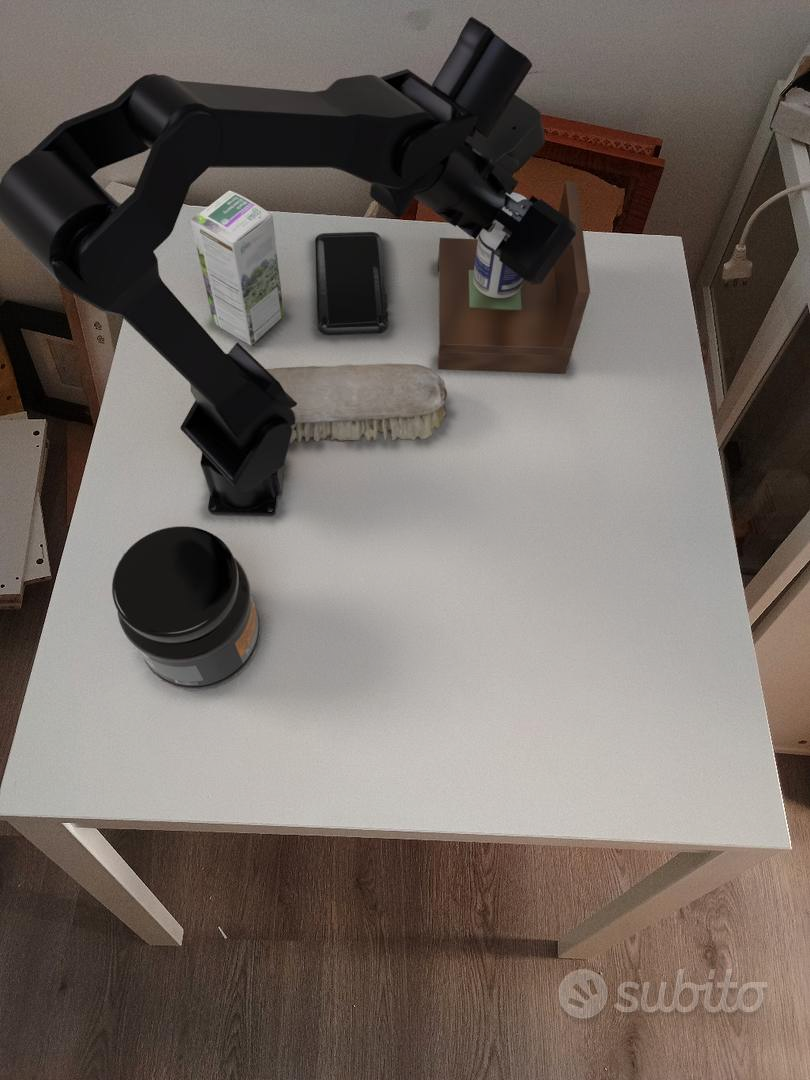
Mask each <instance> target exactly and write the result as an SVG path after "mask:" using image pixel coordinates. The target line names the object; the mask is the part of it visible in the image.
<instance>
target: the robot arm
mask: <svg viewBox="0 0 810 1080" xmlns="http://www.w3.org/2000/svg"><path fill="white" fill-rule="evenodd" d="M532 68H533V63H532V62H531V60H530V59H529V58H528V57H527V55H525V54H523V53H522V52H520V51H519V50H517V48H515V47H513V46H511V45H510V44H508V42H507V41H505V40H504V39H502V38H501V37H500V36H499V35H497V34H496V33H495V32H494V31H493V30H492V28H491V27H489V26H488V25H486V24H485V23H483V22H481V20H479V19H477V18H475V17H473V16H471V17H469V18H468V19H467V21H466V23H465V25H464V26H463V28H462V29H461V32H460V34H459V36H458V38H457V41H456V43H455V44H454V46H453V48H452V50H451V51H450V52H449V55H448V57H447V59H446V60H445V62H444V63H443V65H442V66H441V69H440V70H439V72H438V73H437V76H436V77H435V78H434V80H433V82H432V83H429V82H427V81H426V80H424V79H423V78H422V77H420V76H419V75H418V74H416V73H414V72H413V71H411V70H410V69H408V68H406V69H402V70H399V71H396V72H393V73H389V74H386V75H383V76H377V75H375V74H363V75H355V76H349V77H342V78H338V79H336V80H335V81H333V82H331V84H330V85H329V86H328V87H327V88H326V89H324V90H317V91H306V90H305V91H304V90H294V89H293V90H292V89H282V88H271V87H269V88H268V87H257V86H247V85H245V86H244V85H236V84H235V85H234V84H222V83H209V82H199V81H198V82H197V81H188V80H187V81H186V80H178V79H175V78H173V77H171V76H169V75H165V74H157V73H151V74H144V75H142V76H141V77H139V78H138V79H136V80H135V81H134V82H133V83H132V84H131V85H129V86H128V87H127V88H126V90H125V91H123V92H122V93H121V94H120V95H119V96H117V98H116V99H114V101H112V102H109V103H107V104H105V105H102V106H99V107H97V108H95V109H92V110H90V111H87V112H84V113H82V114H79V115H77V116H74V117H72V118H69V119H67V120H64V121H62V122H61V123H60V124H58V125H57V126H56V127H55V128H54V129H53V130H52V131H51V132H49V133H48V135H47V136H45V137H44V138H43V140H42V141H41V142H39V143H38V144H37V145H36V146H35V147H34V148H33V149H32V150H31V151H30V152H29V153H28V154H25V155H23V157H21V158H20V159H18V160H17V161H15V162H14V163H12V164H11V166H10V167H9V168H8V170H7V171H6V172H5V173H4V175H3V176H2V177H1V181H0V221H1V223H3V225H4V226H5V228H6V229H7V230H8V231H9V232H10V233H11V234H12V235H13V236H14V237H15V238H16V239H17V240H18V241H19V243H21V245H22V246H23V247H24V248H25V249H26V250H27V251H28V252H29V253H30V254H31V255H32V256H33V258H35V259H36V260H37V261H38V262H39V264H40V265H41V266H42V267H43V268H44V269H45V270H46V271H47V272H48V273H49V274H50V275H51V276H52V277H53V278H54V280H56V281H57V283H59V285H61V287H62V288H64V290H66V291H68V292H69V293H70V294H72V295H74V296H76V297H78V298H79V299H81V300H83V301H84V302H86V303H87V304H89V305H91V306H92V307H94V308H96V309H97V310H99V311H101V312H103V313H108V314H112V315H116V316H118V317H120V318H122V319H123V320H124V321H125V322H127V324H129V325H130V327H132V329H134V330H135V332H137V333H138V334H139V335H140V336H141V337H142V338H143V339H144V340H145V341H146V342H147V343H148V344H149V345H150V346H151V347H152V348H153V349H154V350H155V351H156V352H157V353H158V354H159V355H161V357H163V358H164V359H165V361H166V362H167V363H169V365H170V366H172V367H173V369H175V370H176V371H177V372H178V373H179V374H180V375H181V376H182V377H183V379H185V381H187V382H188V383H189V384H190V393H191V395H192V396H193V398H194V402H193V403H192V406H191V407H190V409H189V411H188V412H187V415H186V416H185V418H184V420H183V422H182V423H181V425H180V429H179V430H181V431H182V433H183V434H185V436H186V437H187V438H188V439H189V440H190V441H191V442H192V444H194V445H195V446H196V447H197V449H199V451H200V452H201V456H200V457H201V458H200V467H201V470H202V473H203V475H204V479H205V481H206V485H207V487H208V488H207V489H208V491H209V494H210V495H209V499H208V505H207V510H208V512H209V514H211V515H223V516H224V515H225V516H226V515H227V516H255V517H257V516H259V517H272V516H275V514H276V513H277V506H278V505H277V504H278V498H279V497H281V496H282V495H283V487H284V486H283V485H284V475H285V474H284V468H283V467H284V466H285V462H286V459H287V455H288V450H289V447H290V444H291V443H290V439H291V435H292V427H291V426H292V425H294V424H295V421H296V416H295V414H294V411H293V410H292V409H291V408H293V407H295V406H296V405H297V403H296V402H295V401H294V400H293V399H292V398H291V397H290V396H289V395H288V394H287V393H286V392H285V391H284V390H283V388H282V386H281V385H280V383H279V382H278V381H277V380H276V379H275V378H274V377H273V376H272V375H271V374H270V373H269V372H268V371H267V370H266V369H267V368H265V366H263V365H262V364H261V363H260V362H259V361H258V360H257V359H256V358H255V357H254V356H253V355H251V353H249V351H248V350H247V349H245V348H244V347H243V346H242V345H241V344H240V343H239V342H236V343H235V345H233V347H232V348H231V349H230V350H229V351H228V352H227V353H226V352H225V351H223V349H222V348H221V347H220V346H219V344H218V343H217V342H216V341H215V340H214V339H213V338H212V336H211V335H210V334H209V333H208V332H207V331H206V330H205V328H204V327H203V326H202V325H201V324H200V323H199V322H198V320H197V319H196V318H195V317H194V316H193V314H191V312H190V311H189V310H188V309H187V308H186V306H184V304H183V303H182V302H181V301H180V300H179V299H178V297H177V296H176V294H174V293H173V292H172V291H171V290H170V288H169V287H168V286H167V285H166V283H164V281H163V280H162V278H161V276H160V270H159V261H158V260H159V259H158V257H157V256H156V254H155V250H157V249H158V248H159V247H160V246H161V245H162V244H163V243H164V242H165V241H166V240H167V239H168V238H169V237H170V236H171V235H172V233H173V231H174V228H175V226H176V224H177V221H178V218H179V215H180V214H181V210H182V208H183V205H184V203H185V201H186V197H187V195H188V193H189V190H190V188H191V186H192V184H193V183H194V182H195V181H196V180H198V179H199V178H200V177H201V176H202V175H203V174H204V173H205V172H206V171H207V170H208V169H209V168H211V169H212V168H215V169H216V168H217V169H219V168H221V169H223V168H225V169H231V168H232V169H233V168H235V169H236V168H237V169H238V168H240V169H241V168H242V169H243V168H245V169H248V168H250V169H252V168H255V169H256V168H260V169H261V168H262V169H263V168H264V169H265V168H270V169H271V168H273V169H274V168H276V169H277V168H280V169H282V168H283V169H284V168H287V169H290V168H292V169H293V168H299V169H300V168H302V169H303V168H304V169H306V168H313V169H315V168H318V169H319V168H322V169H323V168H330V169H335V170H339V171H342V172H344V173H347V174H349V175H351V176H353V177H356V178H358V179H361V180H362V181H365V182H367V183H369V184H371V185H370V189H369V190H370V191H369V197H370V198H371V199H372V200H373V201H375V202H376V203H377V204H379V205H380V206H381V207H383V208H384V209H385V210H386V211H387V212H389V213H390V214H392V215H393V216H394V217H395V218H397V219H400V218H402V217H403V216H404V214H405V212H406V211H407V209H408V207H409V206H410V204H411V202H412V201H413V199H414V200H416V201H418V203H421V204H422V205H424V206H426V207H427V208H429V209H430V210H432V211H433V212H435V214H437V215H438V216H440V217H441V218H442V219H443V220H445V221H446V222H447V223H449V224H450V225H452V226H453V227H455V228H456V227H458V228H459V229H461V231H463V232H465V233H466V234H467V235H468V236H470V237H471V238H472V239H478V236H479V233H480V232H481V230H482V229H484V230H486V231H487V232H491V231H492V230H493V229H494V227H495V224H496V223H495V222H493V221H494V220H497V221H498V222H499V223H501V224H502V225H503V226H504V228H503V229H502V231H503V232H504V233H505V234H506V235H505V236H504V238H503V240H502V241H501V242H500V244H499V245H498V247H497V248H496V250H495V251H494V254H495V255H496V256H498V257H499V258H500V259H499V261H501V262H502V263H503V264H505V265H506V266H507V267H508V268H510V269H511V270H512V271H514V272H515V273H516V274H518V275H519V276H520V277H522V278H523V279H524V280H525V281H527V282H529V283H531V284H532V285H536V284H540V283H542V282H543V280H544V279H545V277H546V276H547V274H548V273H549V272H550V270H551V269H552V267H553V266H554V265H555V263H556V262H557V260H558V259H559V257H560V256H561V255H562V253H563V252H564V250H565V249H566V248H567V246H568V245H569V243H570V242H571V241H572V239H573V238H574V236H575V235H576V225H575V224H574V223H573V222H572V221H571V220H570V219H568V218H567V217H566V216H564V215H563V214H561V213H560V212H559V210H557V209H556V208H554V207H553V206H552V205H550V204H549V203H548V202H546V201H545V200H543V199H542V198H540V199H538V198H537V197H536V196H534V195H531V197H530V198H529V199H527V198H526V199H523V200H521V201H519V202H516V201H515V200H514V199H512V198H511V197H509V196H508V195H507V194H506V193H508V194H509V195H510V194H511V193H512V192H513V193H514V190H515V189H516V187H517V186H518V185H519V180H518V179H516V178H515V177H514V175H515V173H518V172H519V170H520V169H522V167H523V166H524V165H525V164H526V163H527V162H528V161H529V160H530V159H532V157H533V156H534V155H535V154H536V153H537V152H539V151H540V150H542V148H543V147H544V145H545V143H546V136H545V131H544V125H543V121H542V114H541V112H540V110H538V109H537V108H536V107H535V106H533V105H531V104H530V103H528V102H527V101H526V100H523V99H522V97H519V96H518V95H516V93H517V91H518V89H519V88H520V86H521V85H522V83H523V82H524V81H525V78H526V77H527V76H528V74H529V73H530V70H531V69H532ZM148 150H150V151H149V154H148V156H147V158H146V161H145V162H144V165H143V168H142V171H141V173H140V175H139V178H138V180H137V183H136V186H135V188H134V190H133V192H132V193H131V194H130V195H129V196H128V197H127V198H126V199H125V200H124V201H123V202H122V203H119V202H118V200H116V199H115V197H113V196H112V195H111V194H110V193H109V192H108V191H107V190H106V189H105V188H104V187H103V186H102V185H101V184H100V183H98V182H97V181H96V180H95V179H94V178H93V177H92V176H94V175H95V174H96V172H98V171H99V170H102V169H103V168H106V167H109V166H111V165H115V164H116V163H119V162H122V161H124V160H127V159H129V158H133V157H135V156H137V155H140V154H143V153H145V152H147V151H148ZM505 206H506V207H505ZM503 207H505V209H508V211H510V212H511V211H512V212H511V213H512V216H510V215H509V214H507V213H506V212H505V211H503V210H502V208H503ZM516 212H517V213H518V214H516ZM492 222H493V223H492ZM213 508H214V509H213ZM270 510H271V511H270Z"/></svg>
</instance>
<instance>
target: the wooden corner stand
mask: <svg viewBox="0 0 810 1080" xmlns="http://www.w3.org/2000/svg"><path fill="white" fill-rule="evenodd" d="M558 211H559V212H560V213H561V214H563V215H564V216H566V217H567V218H568V219H570V220H571V221H572V222H573V223H574V224H575V225H576V235H575V236H574V238H573V239H572V241H571V242H570V243H569V245H568V246H567V248H566V249H565V250H564V252H563V253H562V255H561V256H560V257H559V259H558V260H557V262H556V263H555V265H554V266H553V267H552V269H551V270H550V272H549V273H548V274H547V276H546V277H545V279H544V280H543V282H542V283H540V284H536V285H532V284H531V283H529V282H527V281H525V280H524V281H523V284H522V287H521V289H520V290H519V291H518V292H517V293H516V294H515V295H513V296H511V297H507V298H492V297H489V296H486V295H484V294H483V293H481V292H480V291H479V290H478V289H477V288H476V286H475V284H474V281H473V273H474V266H475V258H476V251H477V244H478V238H476V239H474V238H458V237H457V238H456V237H439V240H438V241H439V244H438V253H437V255H438V256H437V273H438V350H437V351H438V352H437V370H447V371H448V370H450V371H476V372H477V371H479V372H502V373H503V372H507V373H532V374H533V373H534V374H535V373H536V374H537V373H538V374H562V375H563V374H564V375H565V374H566V373H567V371H568V368H569V364H570V361H571V358H572V355H573V351H574V347H575V345H576V340H577V337H578V334H579V331H580V328H581V324H582V320H583V319H584V318H583V317H584V314H585V311H586V307H587V304H588V301H589V297H590V295H591V285H590V276H589V270H588V259H587V253H586V246H585V237H584V229H583V221H582V214H581V205H580V197H579V188H578V182H577V181H568V180H567V181H565V182H564V187H563V190H562V196H561V200H560V204H559V209H558Z"/></svg>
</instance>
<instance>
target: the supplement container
mask: <svg viewBox="0 0 810 1080" xmlns="http://www.w3.org/2000/svg"><path fill="white" fill-rule="evenodd" d="M111 595H112V599H113V604H114V606H115V608H116V611H117V617H118V621H119V625H120V628H121V630H122V631H123V633H124V635H125V637H126V639H128V641H129V642H130V643H131V645H133V646H134V647H135V648H136V649H137V651H138V652H139V653H140V654H139V655H141V656H142V658H143V661H144V662H145V664H146V665H147V667H148V668H149V670H150V671H151V672H152V673H153V675H155V676H156V677H157V678H158V679H159V680H161V681H163V682H164V683H166V684H168V685H170V686H172V687H174V688H177V689H181V690H188V691H202V690H209V689H213V688H216V687H218V686H221V685H223V684H226V683H228V682H229V681H231V680H232V679H234V678H235V677H237V676H238V675H239V674H241V672H242V671H243V670H244V669H245V668H247V666H248V665H249V663H250V662H251V660H252V659H253V657H254V655H255V653H256V651H257V649H258V646H259V642H260V636H261V621H260V616H259V612H258V610H257V607H256V605H255V603H254V600H253V596H252V593H251V586H250V581H249V578H248V576H247V574H246V571H245V569H244V567H243V565H242V564H241V563H240V562H239V561H238V560H237V558H236V557H235V556H234V554H233V553H232V551H231V550H230V548H229V547H228V545H227V544H226V543H225V542H224V541H223V540H222V539H221V538H220V537H218V536H217V535H215V534H213V533H211V532H210V531H208V530H205V529H202V528H198V527H195V526H184V525H178V526H169V527H165V528H161V529H157V530H154V531H152V532H150V533H148V534H147V535H145V536H143V537H142V538H139V539H138V540H137V541H136V542H135V543H133V544H132V545H131V546H130V547H129V548H128V549H127V550H126V551H125V553H124V554H123V556H121V558H120V560H119V562H118V563H117V565H116V568H115V570H114V573H113V576H112V583H111Z"/></svg>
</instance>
